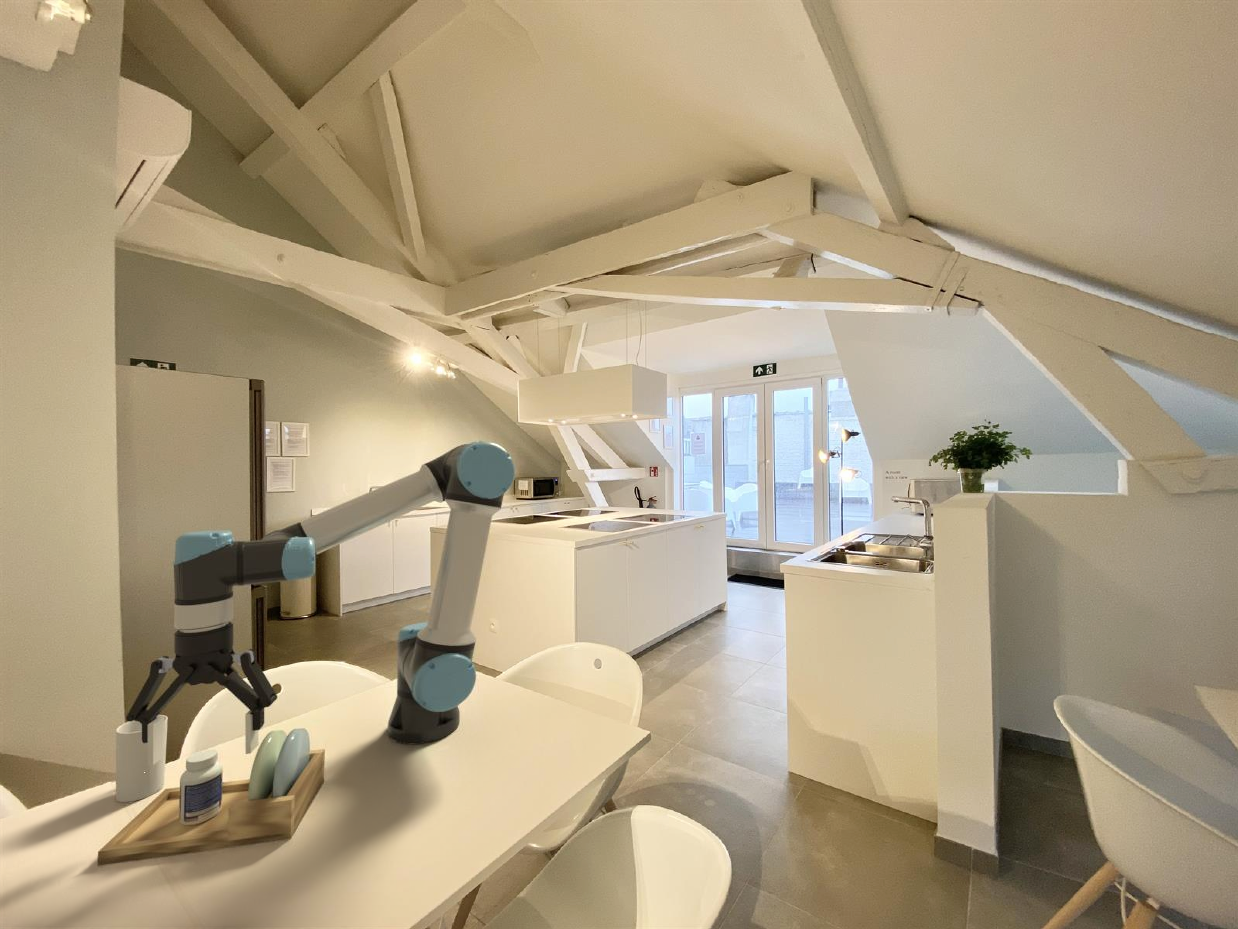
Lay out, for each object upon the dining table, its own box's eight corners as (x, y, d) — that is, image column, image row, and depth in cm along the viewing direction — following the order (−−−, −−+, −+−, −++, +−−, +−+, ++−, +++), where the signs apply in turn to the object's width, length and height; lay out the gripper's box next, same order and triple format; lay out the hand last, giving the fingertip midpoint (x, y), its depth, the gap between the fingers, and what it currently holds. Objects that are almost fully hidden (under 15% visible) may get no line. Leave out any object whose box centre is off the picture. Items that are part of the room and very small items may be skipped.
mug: (151, 800, 88) (153, 730, 88) (103, 807, 86) (105, 735, 86) (183, 768, 97) (185, 705, 98) (141, 773, 95) (143, 709, 96)
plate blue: (309, 782, 91) (310, 715, 91) (280, 827, 80) (282, 751, 80) (301, 783, 91) (303, 716, 91) (272, 829, 79) (273, 751, 80)
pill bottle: (229, 808, 84) (230, 749, 84) (193, 830, 79) (195, 767, 79) (207, 801, 86) (209, 744, 86) (170, 822, 81) (172, 760, 81)
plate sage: (288, 785, 90) (289, 717, 91) (256, 831, 79) (257, 753, 79) (280, 786, 90) (282, 718, 90) (247, 832, 78) (249, 754, 79)
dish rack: (324, 781, 93) (324, 749, 93) (290, 838, 78) (291, 800, 79) (165, 800, 87) (166, 765, 88) (97, 865, 73) (98, 823, 73)
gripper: (298, 613, 89) (298, 733, 89) (130, 624, 84) (131, 753, 84) (279, 626, 82) (280, 757, 82) (95, 639, 76) (95, 780, 76)
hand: (205, 755), depth 83 cm, fingers open, 13 cm apart
